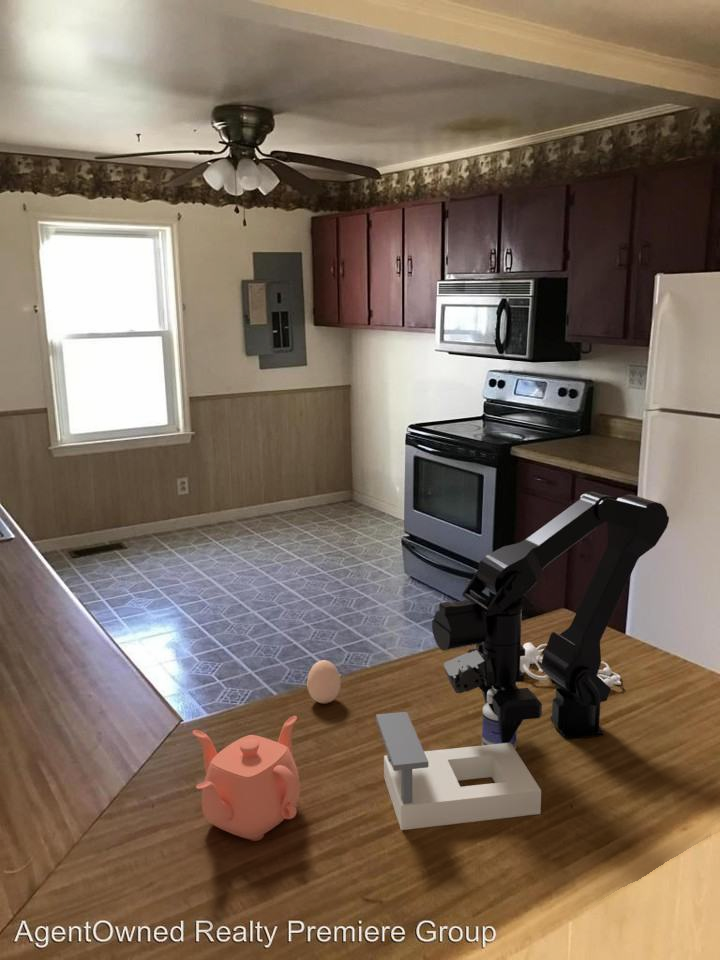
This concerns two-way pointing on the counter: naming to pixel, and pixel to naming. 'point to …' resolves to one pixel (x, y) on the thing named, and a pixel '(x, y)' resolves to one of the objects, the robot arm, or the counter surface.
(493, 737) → the pill bottle
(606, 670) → the tangled rod sculpture
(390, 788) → the socket block
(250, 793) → the teapot
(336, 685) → the egg
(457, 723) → the counter surface
